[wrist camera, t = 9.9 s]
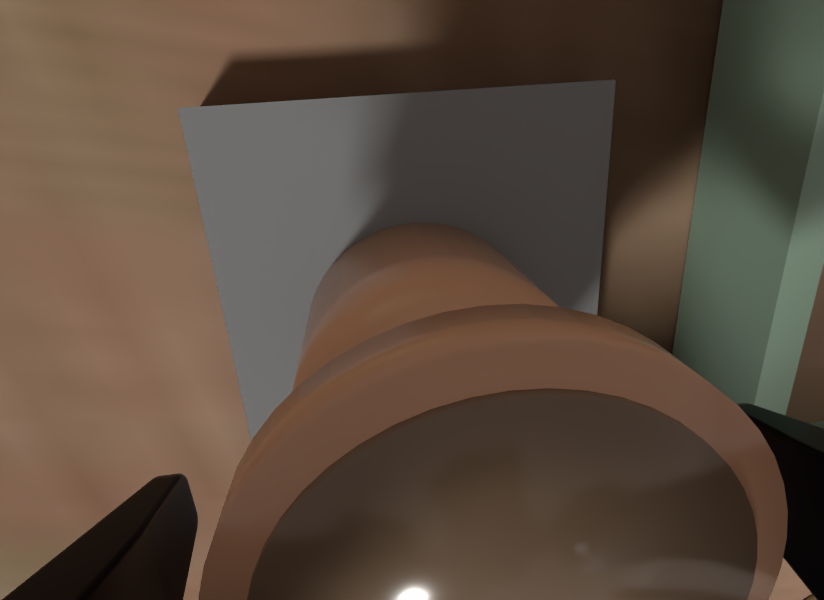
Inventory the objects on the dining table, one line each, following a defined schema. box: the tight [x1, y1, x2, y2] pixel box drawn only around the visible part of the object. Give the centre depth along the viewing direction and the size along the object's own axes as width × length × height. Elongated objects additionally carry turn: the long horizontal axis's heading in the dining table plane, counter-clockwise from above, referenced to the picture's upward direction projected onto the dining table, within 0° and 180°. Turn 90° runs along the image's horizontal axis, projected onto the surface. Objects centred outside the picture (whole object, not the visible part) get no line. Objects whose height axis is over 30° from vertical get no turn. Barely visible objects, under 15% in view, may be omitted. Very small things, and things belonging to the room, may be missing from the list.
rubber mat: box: [178, 79, 616, 441], centre depth 14 cm, size 12×10×2 cm
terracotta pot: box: [199, 222, 788, 600], centre depth 9 cm, size 7×7×8 cm
